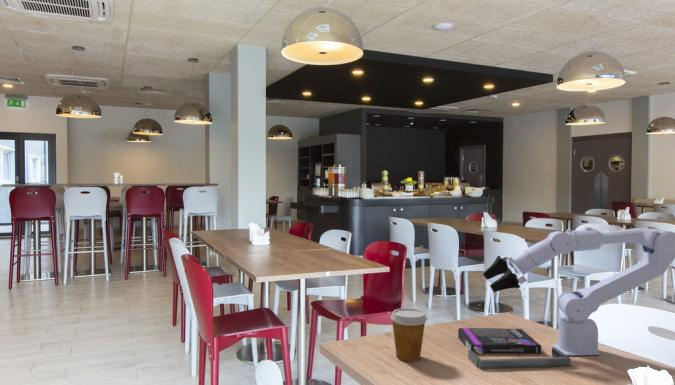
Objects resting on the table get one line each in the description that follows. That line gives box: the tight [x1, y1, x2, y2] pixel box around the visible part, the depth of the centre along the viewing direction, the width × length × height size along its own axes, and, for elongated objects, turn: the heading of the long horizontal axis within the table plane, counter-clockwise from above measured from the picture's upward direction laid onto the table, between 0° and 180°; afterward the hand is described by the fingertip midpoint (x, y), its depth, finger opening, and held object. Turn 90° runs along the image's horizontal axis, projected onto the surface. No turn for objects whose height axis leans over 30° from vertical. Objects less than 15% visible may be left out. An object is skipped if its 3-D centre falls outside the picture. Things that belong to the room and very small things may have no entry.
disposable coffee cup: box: [390, 307, 428, 362], centre depth 128 cm, size 10×10×12 cm
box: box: [457, 327, 542, 355], centre depth 137 cm, size 14×4×20 cm
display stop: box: [467, 347, 572, 370], centre depth 125 cm, size 24×8×2 cm, turn 95°
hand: (488, 282), depth 137 cm, fingers open, 7 cm apart
